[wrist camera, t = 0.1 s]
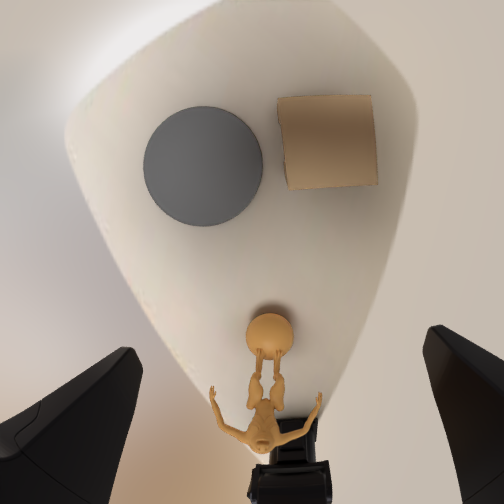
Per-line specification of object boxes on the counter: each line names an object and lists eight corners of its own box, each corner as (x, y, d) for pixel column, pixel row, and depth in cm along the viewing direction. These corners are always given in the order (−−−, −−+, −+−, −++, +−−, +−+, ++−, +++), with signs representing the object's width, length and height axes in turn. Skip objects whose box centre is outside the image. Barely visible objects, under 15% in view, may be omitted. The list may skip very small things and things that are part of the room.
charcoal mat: (268, 218, 21) (268, 219, 21) (157, 230, 22) (155, 232, 22) (253, 98, 18) (253, 97, 17) (137, 121, 19) (135, 121, 18)
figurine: (319, 306, 24) (342, 423, 13) (309, 356, 26) (319, 464, 15) (223, 300, 24) (189, 415, 13) (224, 351, 27) (201, 457, 16)
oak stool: (352, 172, 19) (377, 184, 14) (285, 176, 20) (288, 190, 15) (346, 105, 17) (370, 95, 12) (277, 108, 18) (277, 97, 13)
